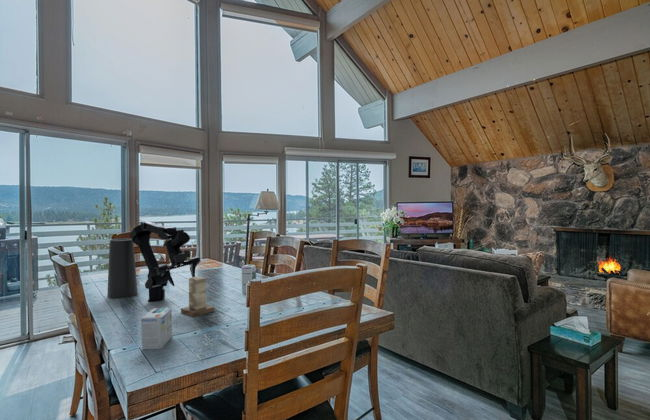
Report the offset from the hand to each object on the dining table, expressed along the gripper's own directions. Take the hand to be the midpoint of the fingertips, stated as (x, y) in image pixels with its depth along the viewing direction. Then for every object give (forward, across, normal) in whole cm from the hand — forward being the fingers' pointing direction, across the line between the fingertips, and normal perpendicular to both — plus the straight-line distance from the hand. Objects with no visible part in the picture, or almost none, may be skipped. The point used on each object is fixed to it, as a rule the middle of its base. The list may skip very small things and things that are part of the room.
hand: (184, 282), depth 166 cm
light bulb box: (+24, -22, -29) cm, 44 cm away
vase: (-11, -20, +42) cm, 48 cm away
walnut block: (+16, 0, -4) cm, 16 cm away
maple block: (+13, +1, -5) cm, 14 cm away
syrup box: (+13, +33, +12) cm, 37 cm away
